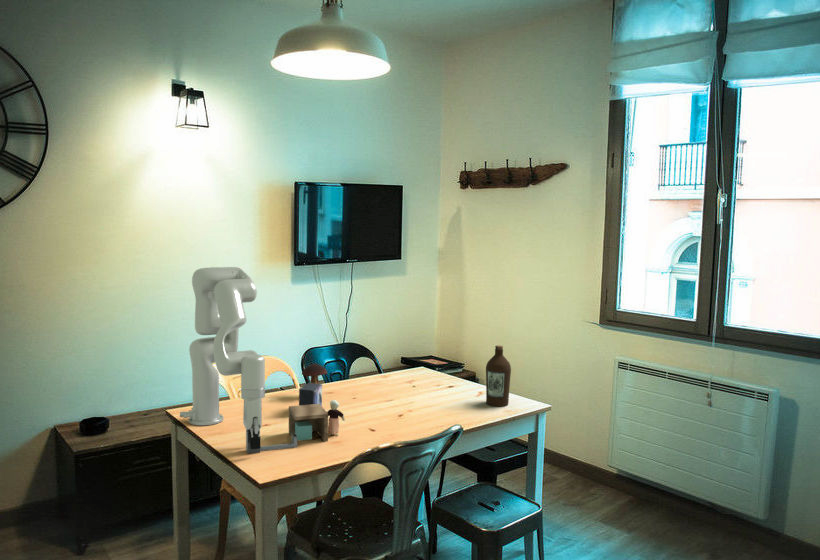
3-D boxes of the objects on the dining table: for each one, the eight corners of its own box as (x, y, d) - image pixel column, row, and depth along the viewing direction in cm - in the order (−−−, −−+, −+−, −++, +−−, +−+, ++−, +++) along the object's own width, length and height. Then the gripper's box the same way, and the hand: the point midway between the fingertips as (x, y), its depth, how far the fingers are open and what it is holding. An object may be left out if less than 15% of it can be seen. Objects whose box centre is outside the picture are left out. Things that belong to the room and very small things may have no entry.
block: (297, 440, 222) (297, 426, 221) (294, 436, 226) (295, 422, 226) (311, 439, 224) (312, 425, 223) (308, 434, 228) (309, 421, 228)
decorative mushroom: (307, 402, 269) (307, 367, 268) (297, 395, 278) (298, 362, 277) (331, 399, 274) (331, 364, 273) (321, 393, 284) (321, 359, 283)
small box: (313, 416, 250) (313, 390, 249) (298, 414, 251) (298, 388, 250) (322, 408, 260) (322, 383, 259) (307, 407, 261) (307, 382, 261)
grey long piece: (247, 454, 208) (247, 433, 207) (245, 447, 214) (245, 427, 213) (297, 448, 214) (298, 428, 213) (294, 442, 220) (294, 422, 219)
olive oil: (488, 399, 280) (489, 342, 277) (512, 402, 276) (514, 345, 274) (482, 405, 270) (483, 347, 267) (506, 408, 266) (508, 349, 264)
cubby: (295, 444, 218) (295, 416, 217) (288, 432, 230) (288, 406, 229) (327, 441, 222) (328, 413, 221) (319, 429, 234) (319, 403, 233)
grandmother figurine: (322, 436, 226) (323, 401, 225) (323, 432, 230) (324, 398, 229) (344, 436, 227) (345, 401, 226) (345, 433, 231) (345, 398, 230)
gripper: (238, 387, 215) (238, 437, 217) (244, 400, 199) (244, 453, 201) (260, 385, 218) (261, 434, 219) (268, 398, 202) (269, 451, 203)
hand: (253, 443), depth 210 cm, fingers open, 9 cm apart
